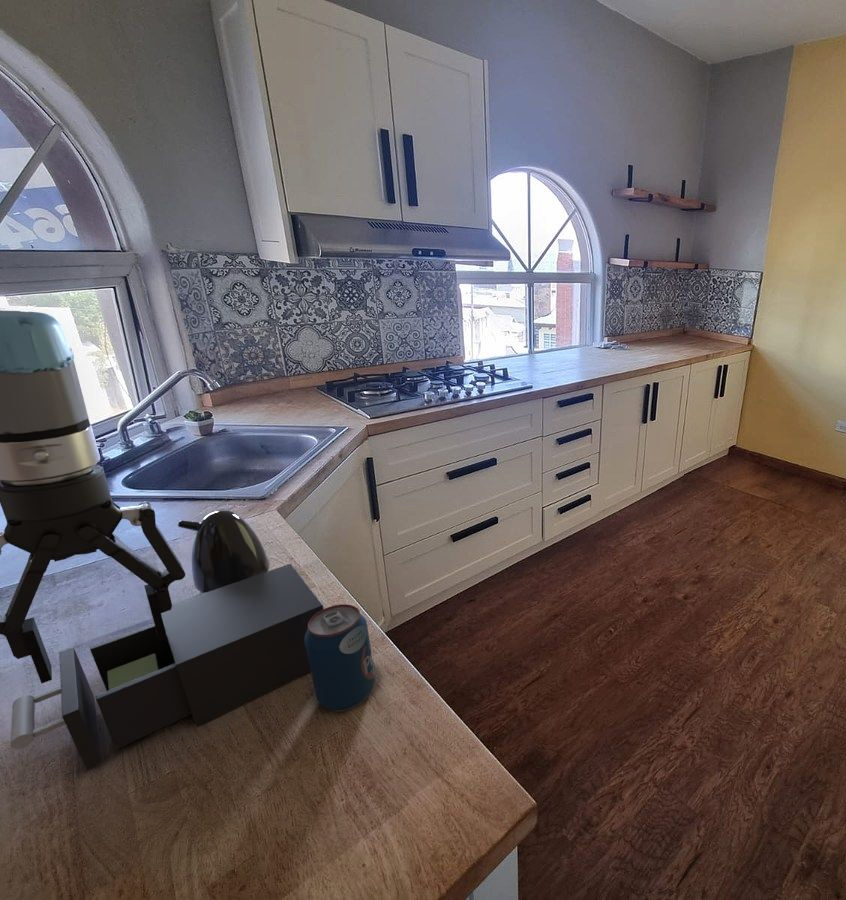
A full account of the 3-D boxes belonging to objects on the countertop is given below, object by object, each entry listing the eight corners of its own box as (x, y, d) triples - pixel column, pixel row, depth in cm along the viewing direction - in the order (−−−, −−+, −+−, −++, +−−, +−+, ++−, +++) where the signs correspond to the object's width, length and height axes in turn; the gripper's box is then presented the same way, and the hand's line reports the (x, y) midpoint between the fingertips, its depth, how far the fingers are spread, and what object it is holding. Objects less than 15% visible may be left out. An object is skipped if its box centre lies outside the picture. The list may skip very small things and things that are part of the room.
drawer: (27, 798, 51) (-2, 742, 48) (29, 723, 59) (4, 671, 56) (245, 694, 64) (231, 645, 61) (222, 644, 72) (209, 599, 69)
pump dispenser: (210, 581, 86) (188, 502, 81) (279, 570, 90) (262, 494, 85) (188, 618, 78) (162, 532, 72) (266, 605, 81) (246, 522, 76)
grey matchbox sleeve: (196, 728, 60) (175, 665, 57) (176, 666, 69) (157, 608, 65) (333, 660, 71) (323, 604, 67) (301, 614, 79) (290, 563, 76)
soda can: (385, 695, 65) (373, 620, 61) (327, 726, 61) (311, 647, 57) (365, 665, 70) (353, 594, 66) (311, 691, 65) (294, 617, 61)
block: (118, 699, 61) (106, 670, 59) (164, 680, 64) (155, 652, 62) (120, 721, 58) (108, 692, 57) (169, 700, 61) (159, 672, 59)
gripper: (-147, 515, 40) (-47, 728, 47) (193, 460, 55) (229, 628, 62) (-126, 485, 45) (-38, 683, 52) (181, 442, 60) (216, 600, 67)
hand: (107, 653), depth 57 cm, fingers open, 9 cm apart
